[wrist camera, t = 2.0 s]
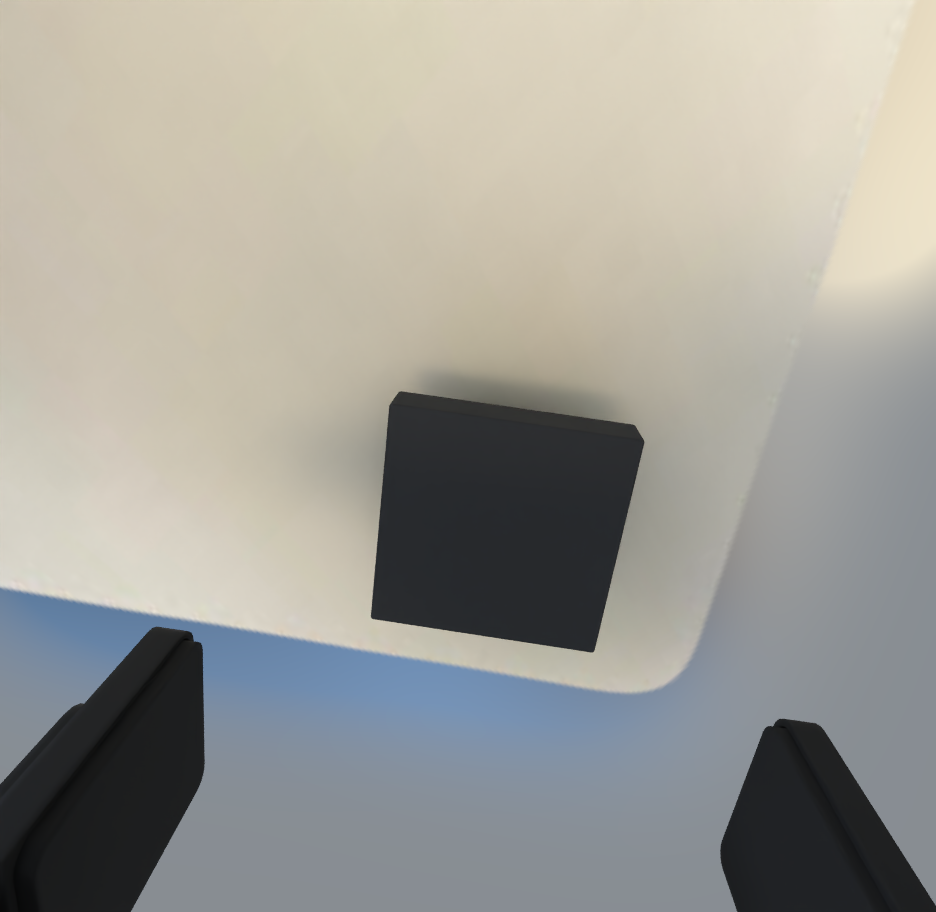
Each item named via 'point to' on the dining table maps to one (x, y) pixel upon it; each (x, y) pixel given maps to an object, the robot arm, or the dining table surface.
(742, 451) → the dining table surface
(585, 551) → the black pad
